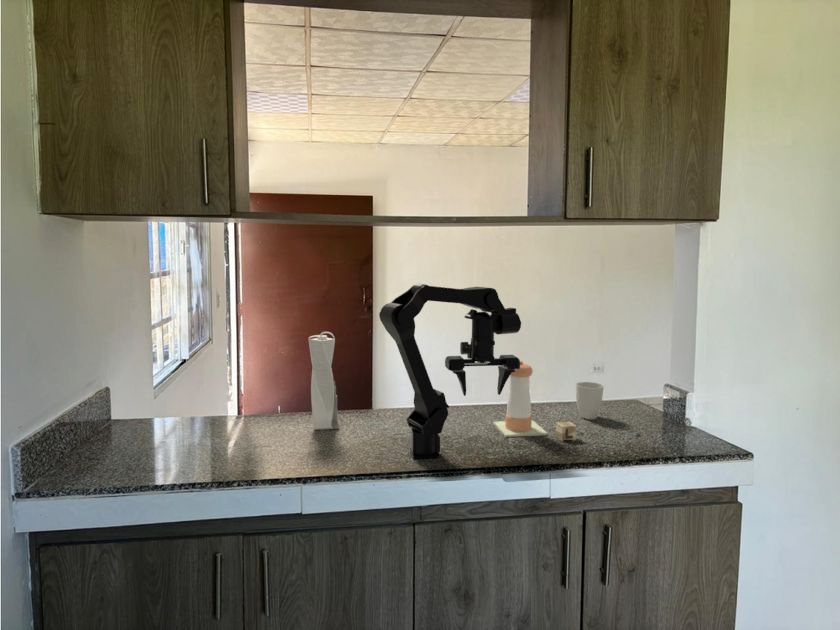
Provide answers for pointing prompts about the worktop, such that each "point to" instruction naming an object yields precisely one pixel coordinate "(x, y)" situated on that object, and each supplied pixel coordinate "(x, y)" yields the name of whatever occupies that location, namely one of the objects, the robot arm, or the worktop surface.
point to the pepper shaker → (519, 400)
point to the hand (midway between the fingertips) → (481, 394)
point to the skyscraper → (323, 383)
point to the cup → (589, 399)
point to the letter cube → (565, 431)
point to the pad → (534, 431)
